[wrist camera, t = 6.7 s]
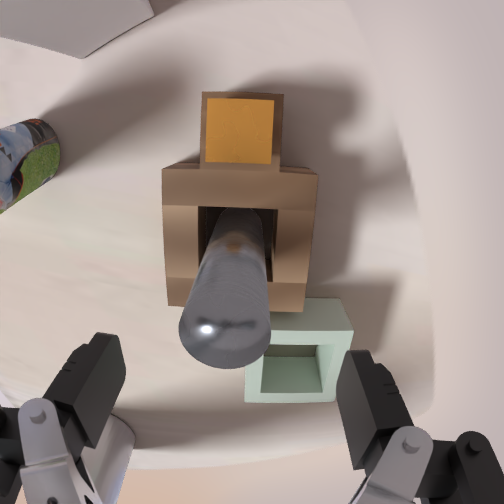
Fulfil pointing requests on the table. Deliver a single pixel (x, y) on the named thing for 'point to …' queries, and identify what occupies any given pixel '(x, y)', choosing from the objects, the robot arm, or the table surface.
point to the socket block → (244, 196)
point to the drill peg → (229, 295)
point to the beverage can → (26, 159)
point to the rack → (302, 368)
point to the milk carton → (70, 22)
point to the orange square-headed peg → (239, 130)
